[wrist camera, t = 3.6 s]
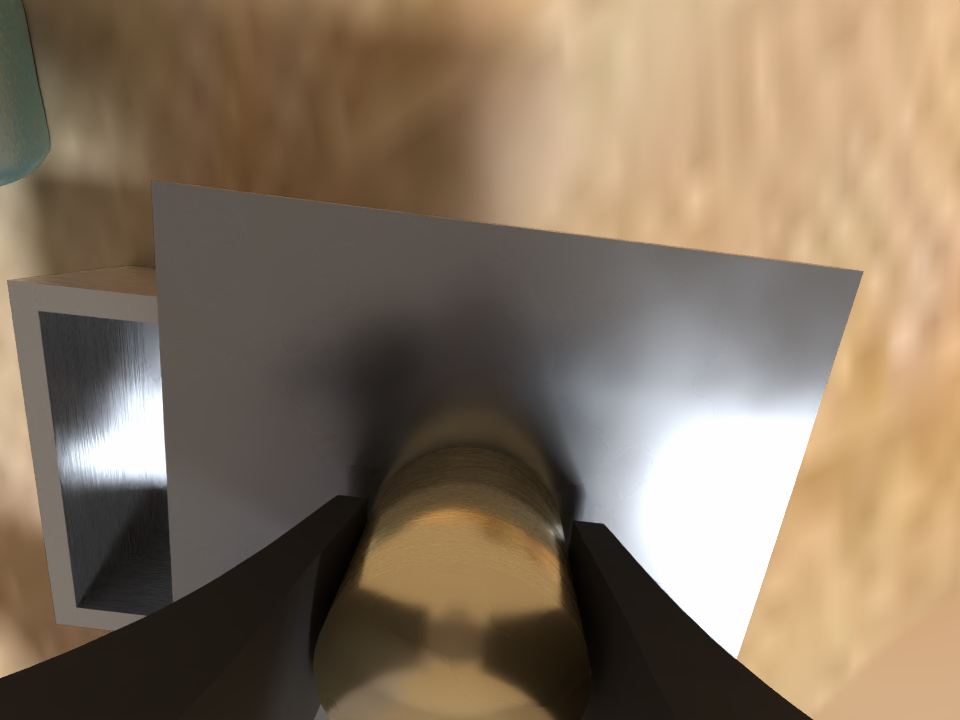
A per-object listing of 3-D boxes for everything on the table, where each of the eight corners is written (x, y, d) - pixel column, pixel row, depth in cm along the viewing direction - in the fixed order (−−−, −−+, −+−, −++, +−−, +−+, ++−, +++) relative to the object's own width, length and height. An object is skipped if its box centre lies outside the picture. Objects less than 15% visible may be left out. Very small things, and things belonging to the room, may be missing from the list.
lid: (674, 734, 14) (765, 1003, 9) (210, 674, 14) (61, 912, 9) (815, 263, 10) (1080, 305, 6) (196, 184, 10) (-57, 160, 6)
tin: (419, 568, 23) (397, 663, 18) (150, 538, 23) (56, 624, 18) (441, 299, 19) (422, 325, 15) (128, 265, 20) (7, 280, 15)
